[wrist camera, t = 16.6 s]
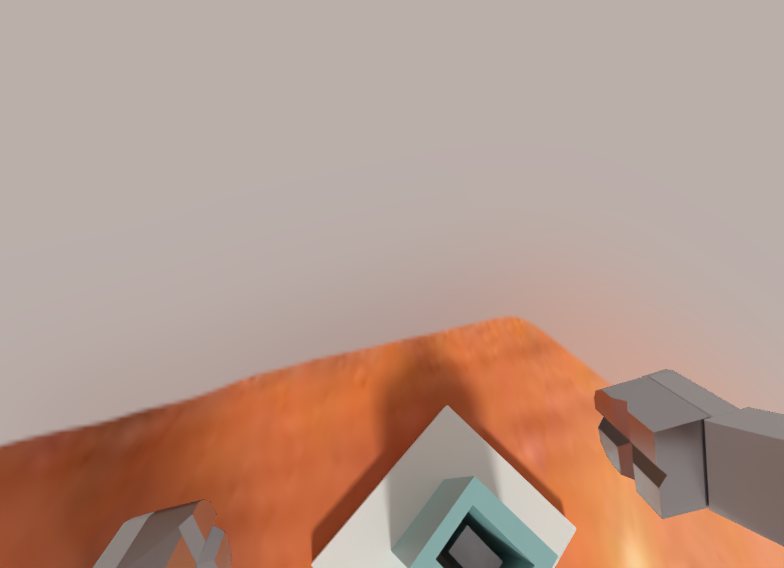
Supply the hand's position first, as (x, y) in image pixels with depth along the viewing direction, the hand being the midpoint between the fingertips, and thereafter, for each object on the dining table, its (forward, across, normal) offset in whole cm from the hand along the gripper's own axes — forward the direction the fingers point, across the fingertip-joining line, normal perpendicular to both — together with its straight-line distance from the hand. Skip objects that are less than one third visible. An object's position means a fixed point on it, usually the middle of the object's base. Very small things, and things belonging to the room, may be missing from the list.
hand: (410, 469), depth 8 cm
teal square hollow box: (+18, 0, +22) cm, 28 cm away
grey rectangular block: (+18, 0, +22) cm, 28 cm away
